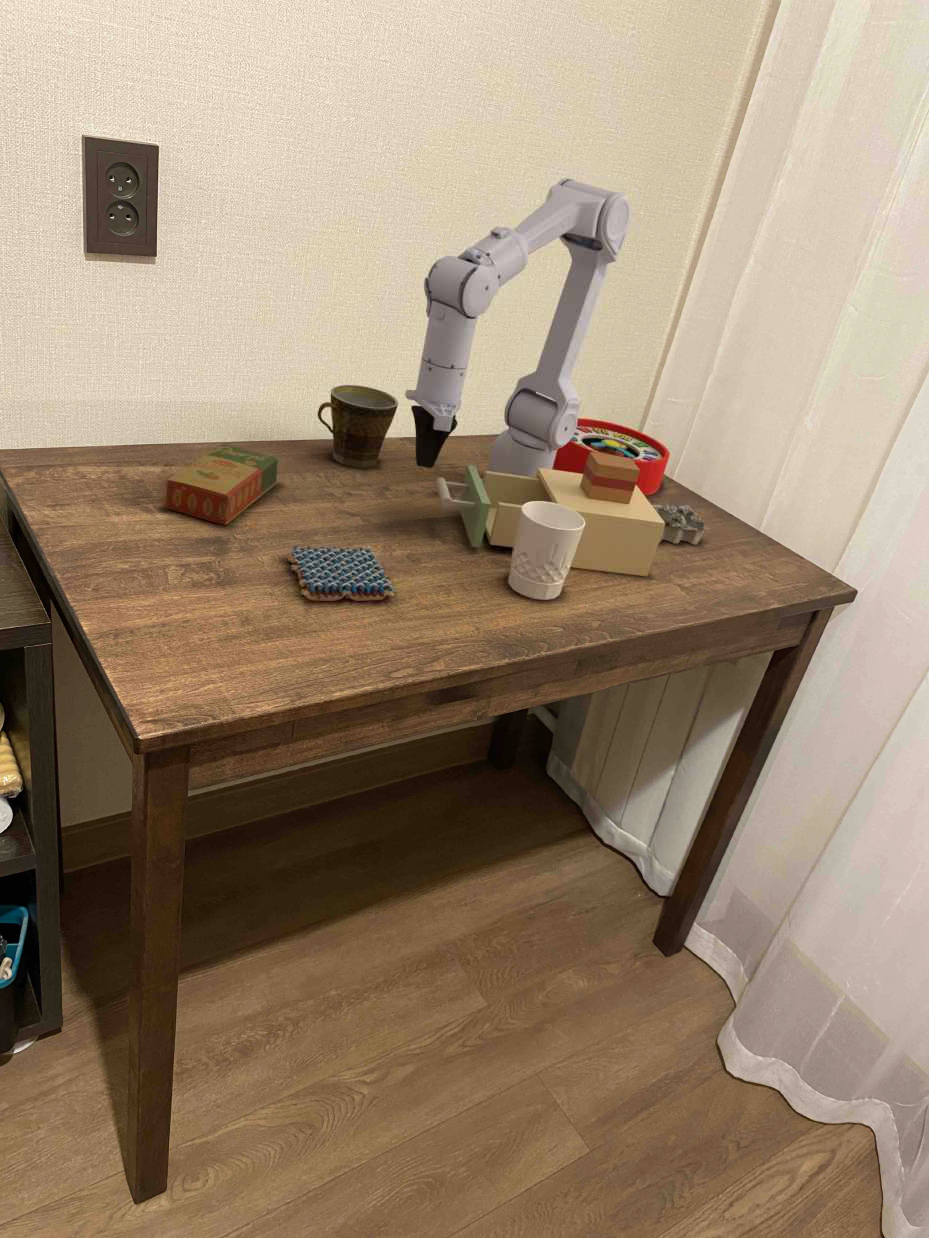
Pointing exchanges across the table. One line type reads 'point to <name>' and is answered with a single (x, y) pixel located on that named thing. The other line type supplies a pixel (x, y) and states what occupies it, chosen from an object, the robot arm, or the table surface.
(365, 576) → the woven mat
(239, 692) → the table surface
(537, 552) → the white cup
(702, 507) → the table surface
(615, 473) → the packet
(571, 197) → the robot arm
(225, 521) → the carton
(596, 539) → the shallow tan box
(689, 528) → the egg carton
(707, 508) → the table surface
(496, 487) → the drawer
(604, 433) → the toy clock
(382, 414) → the ceramic cup
